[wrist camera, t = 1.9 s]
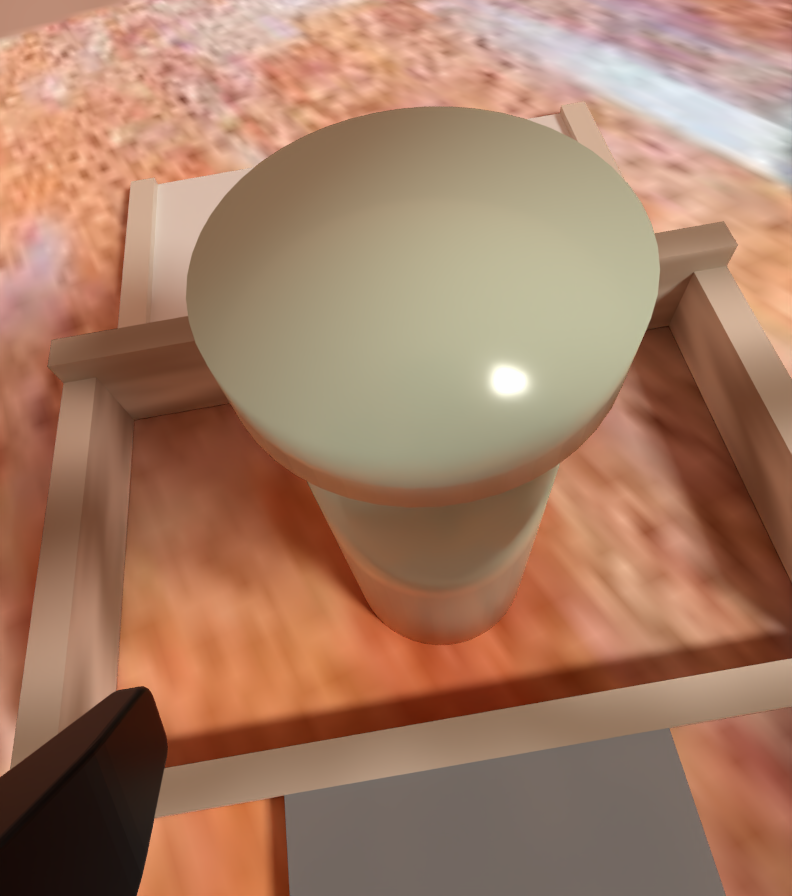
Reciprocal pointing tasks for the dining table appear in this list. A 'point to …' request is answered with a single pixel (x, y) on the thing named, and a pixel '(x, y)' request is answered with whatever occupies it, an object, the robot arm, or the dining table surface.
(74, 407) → the frame
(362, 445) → the pale lidded canister
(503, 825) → the slate pad
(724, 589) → the dining table surface
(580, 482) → the dining table surface
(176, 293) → the frame lid
